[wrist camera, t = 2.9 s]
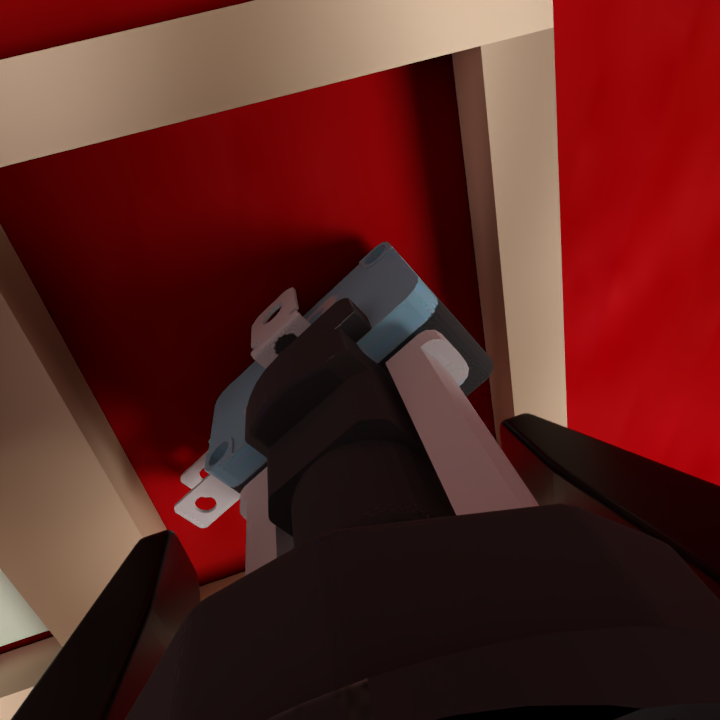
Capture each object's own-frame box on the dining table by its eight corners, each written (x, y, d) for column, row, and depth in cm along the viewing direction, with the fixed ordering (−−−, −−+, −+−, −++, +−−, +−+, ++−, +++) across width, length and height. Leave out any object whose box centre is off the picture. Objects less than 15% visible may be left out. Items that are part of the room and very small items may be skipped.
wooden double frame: (511, -51, 9) (549, -69, 8) (546, 503, 15) (570, 535, 14) (-1057, 317, 7) (-1288, 360, 6) (-280, 789, 13) (-324, 851, 12)
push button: (281, 529, 13) (329, 1473, 4) (85, 396, 11) (-749, 1866, 2) (501, 345, 12) (1241, 1120, 3) (332, 150, 9) (1400, 1005, 1)
